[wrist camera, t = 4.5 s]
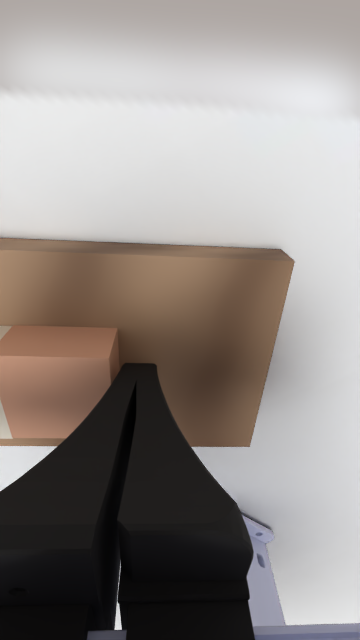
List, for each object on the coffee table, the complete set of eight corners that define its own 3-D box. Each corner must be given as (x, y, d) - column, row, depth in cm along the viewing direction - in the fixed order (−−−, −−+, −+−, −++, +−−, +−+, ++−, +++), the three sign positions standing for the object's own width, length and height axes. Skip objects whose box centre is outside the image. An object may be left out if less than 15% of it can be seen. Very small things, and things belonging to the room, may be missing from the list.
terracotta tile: (117, 328, 12) (109, 358, 10) (121, 402, 14) (114, 438, 12) (13, 325, 12) (-14, 355, 10) (31, 401, 14) (12, 437, 12)
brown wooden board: (281, 249, 12) (294, 261, 11) (243, 423, 17) (249, 446, 16) (-138, 232, 11) (-178, 242, 10) (-52, 421, 16) (-71, 445, 15)
